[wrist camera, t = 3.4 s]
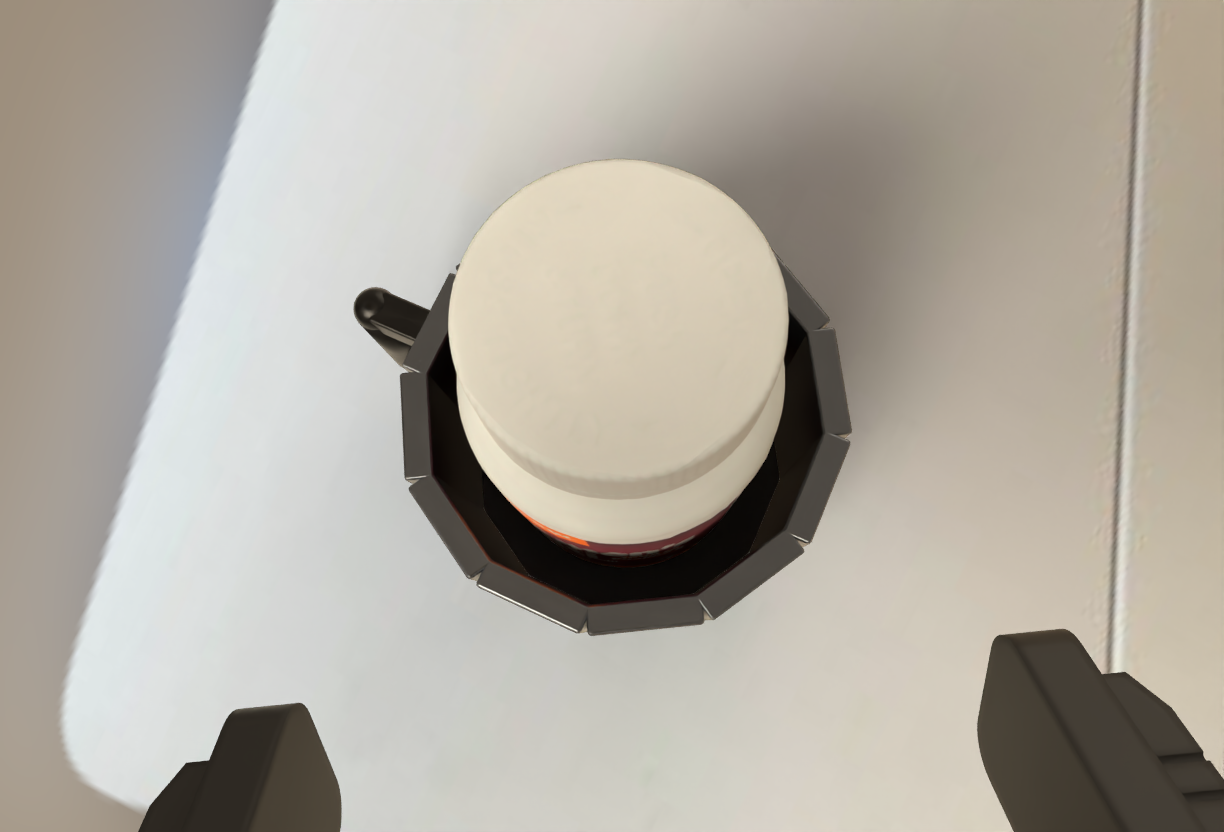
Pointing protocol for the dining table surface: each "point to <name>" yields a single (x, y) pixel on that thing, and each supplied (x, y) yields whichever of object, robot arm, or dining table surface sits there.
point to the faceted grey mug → (458, 516)
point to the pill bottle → (620, 356)
